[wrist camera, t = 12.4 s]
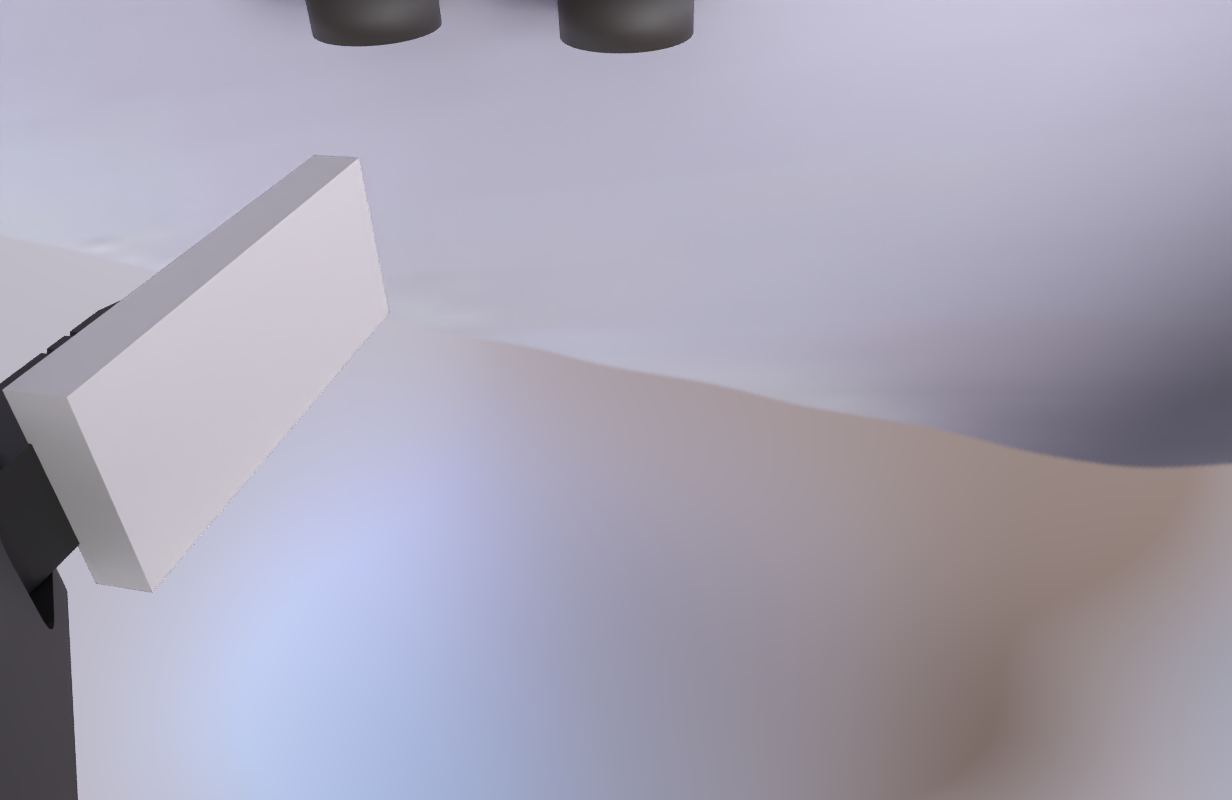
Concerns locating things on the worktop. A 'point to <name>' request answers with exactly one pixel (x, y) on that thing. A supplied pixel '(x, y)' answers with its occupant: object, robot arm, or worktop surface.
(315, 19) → the chassis
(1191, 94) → the worktop surface
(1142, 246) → the worktop surface
